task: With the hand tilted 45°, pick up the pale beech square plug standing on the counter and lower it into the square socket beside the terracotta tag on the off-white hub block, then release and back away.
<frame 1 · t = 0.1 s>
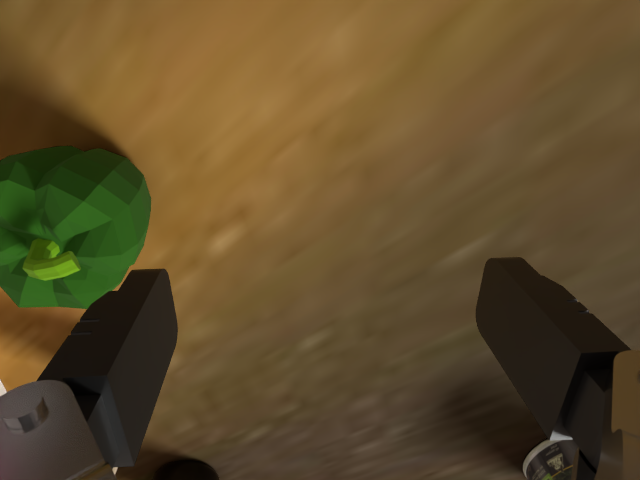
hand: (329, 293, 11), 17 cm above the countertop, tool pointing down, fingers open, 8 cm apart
supplement bottle: (187, 475, 43), on the countertop
coffee can: (567, 455, 46), on the countertop
bell pepper: (103, 189, 27), on the countertop
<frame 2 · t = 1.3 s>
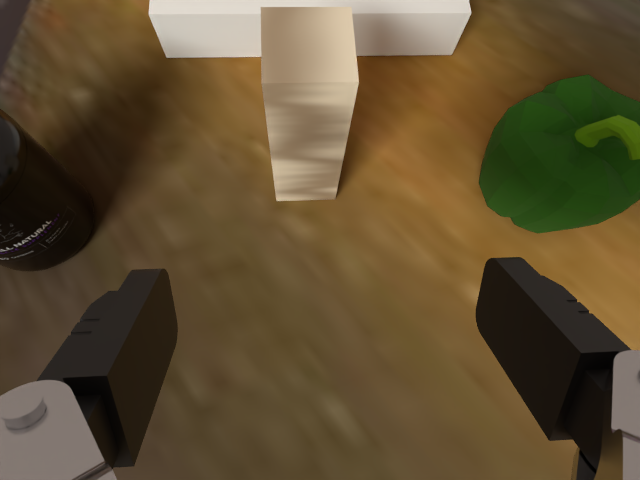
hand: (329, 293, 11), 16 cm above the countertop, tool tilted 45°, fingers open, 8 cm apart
beech plug: (304, 173, 29), on the countertop
supplement bottle: (46, 223, 28), on the countertop
bell pepper: (517, 194, 30), on the countertop
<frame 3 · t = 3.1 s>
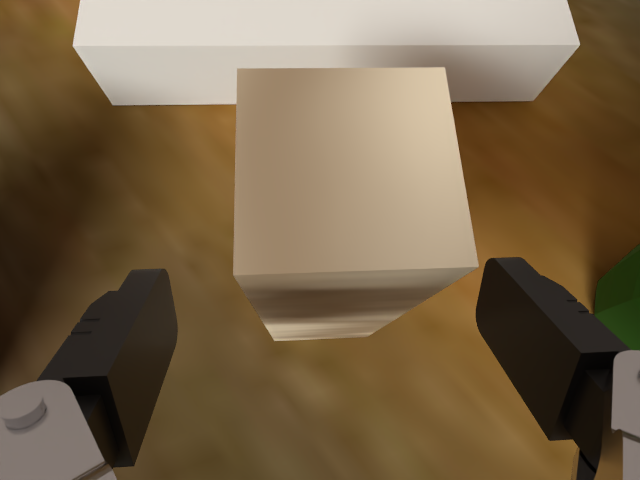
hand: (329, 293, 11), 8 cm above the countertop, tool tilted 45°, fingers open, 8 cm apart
socket hub: (323, 13, 24), on the countertop
beech plug: (319, 293, 19), on the countertop
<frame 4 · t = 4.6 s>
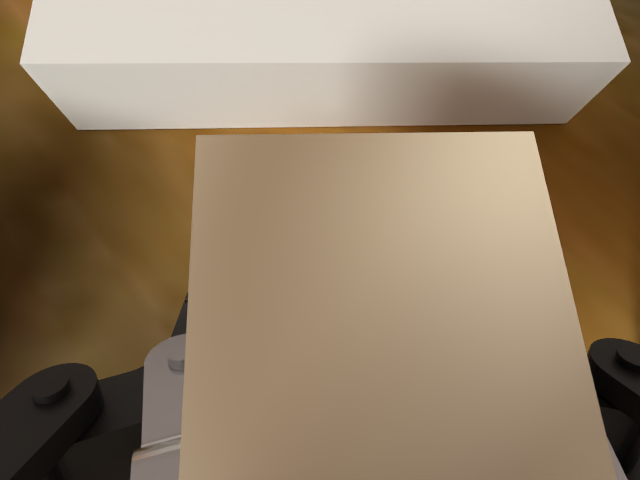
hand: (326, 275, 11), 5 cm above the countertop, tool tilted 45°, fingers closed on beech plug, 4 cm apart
socket hub: (324, 21, 21), on the countertop
beech plug: (320, 359, 16), on the countertop, touching gripper
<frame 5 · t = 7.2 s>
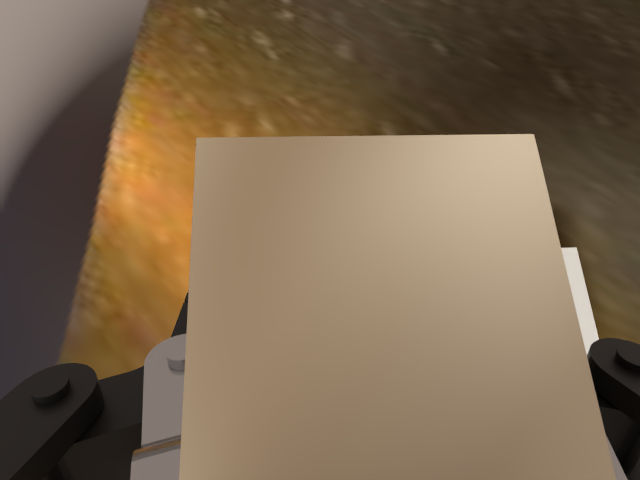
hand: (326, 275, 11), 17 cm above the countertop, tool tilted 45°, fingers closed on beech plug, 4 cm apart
socket hub: (398, 357, 28), on the countertop
beech plug: (320, 360, 16), point 12 cm above the countertop, touching gripper
when the fingers open (7 cm above the countertop, at t = 10.0 s): beech plug drops 2 cm, resting in socket hub.
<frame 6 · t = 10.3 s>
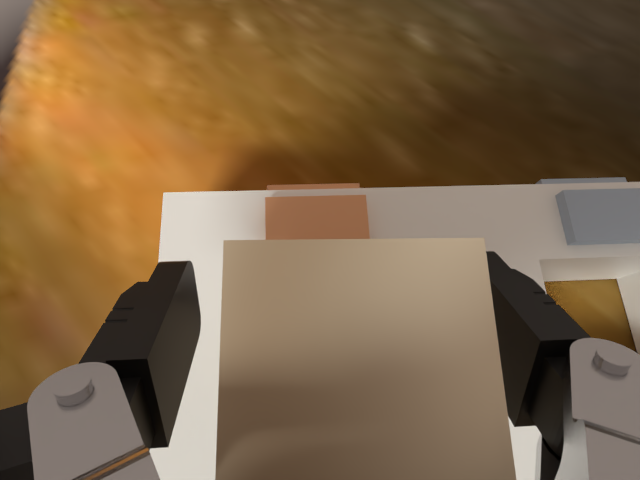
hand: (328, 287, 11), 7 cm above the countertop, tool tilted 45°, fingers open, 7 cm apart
socket hub: (446, 354, 18), on the countertop
beech plug: (317, 362, 17), resting in socket hub
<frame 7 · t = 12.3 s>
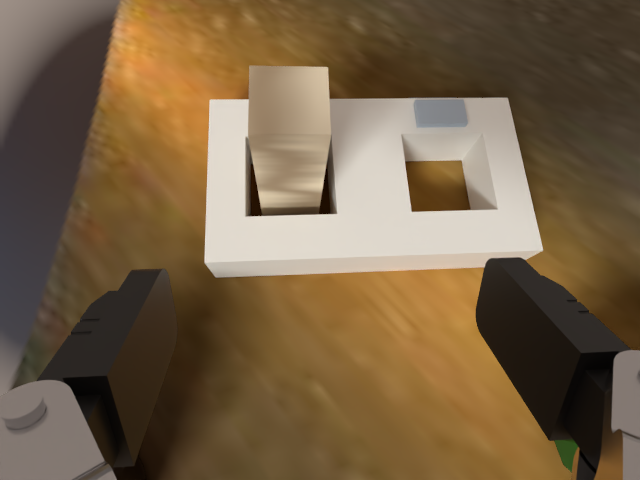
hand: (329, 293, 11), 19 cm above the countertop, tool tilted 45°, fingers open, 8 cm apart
socket hub: (361, 196, 33), on the countertop
beech plug: (290, 198, 32), resting in socket hub
bell pepper: (589, 438, 28), on the countertop
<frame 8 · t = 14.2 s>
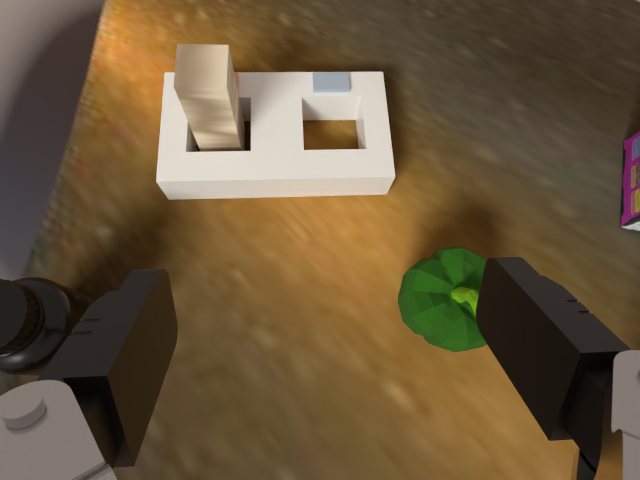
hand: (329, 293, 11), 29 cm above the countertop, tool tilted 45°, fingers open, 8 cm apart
socket hub: (278, 145, 45), on the countertop
beech plug: (225, 146, 44), resting in socket hub
supplement bottle: (80, 336, 38), on the countertop
bell pepper: (429, 310, 40), on the countertop
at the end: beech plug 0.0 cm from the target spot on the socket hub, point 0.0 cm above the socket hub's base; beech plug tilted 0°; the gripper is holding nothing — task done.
